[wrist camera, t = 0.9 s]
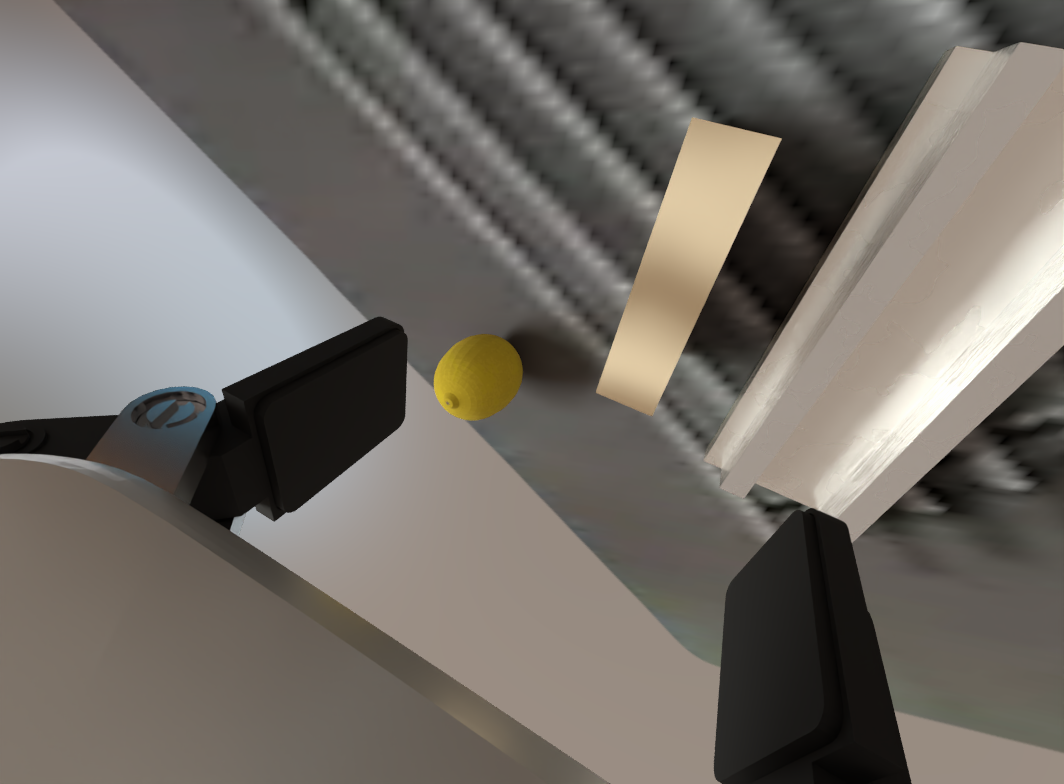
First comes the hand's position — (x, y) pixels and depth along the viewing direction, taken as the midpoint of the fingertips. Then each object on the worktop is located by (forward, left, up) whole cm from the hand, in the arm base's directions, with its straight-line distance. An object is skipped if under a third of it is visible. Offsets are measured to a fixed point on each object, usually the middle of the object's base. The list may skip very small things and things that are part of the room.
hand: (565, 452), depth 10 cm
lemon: (+10, -10, -19) cm, 24 cm away
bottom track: (0, +11, -19) cm, 22 cm away
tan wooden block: (-1, 0, -19) cm, 19 cm away
